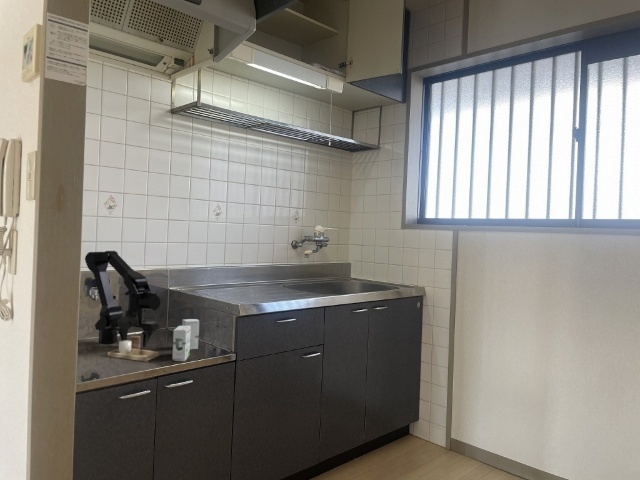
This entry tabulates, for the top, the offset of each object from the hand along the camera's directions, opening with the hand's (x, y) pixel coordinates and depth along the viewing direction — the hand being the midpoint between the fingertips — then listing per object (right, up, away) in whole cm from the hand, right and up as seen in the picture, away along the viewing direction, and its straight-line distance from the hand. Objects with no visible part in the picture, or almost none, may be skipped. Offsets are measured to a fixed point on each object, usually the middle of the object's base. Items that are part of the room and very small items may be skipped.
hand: (134, 345), depth 197 cm
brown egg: (0, -1, 0) cm, 1 cm away
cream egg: (0, -1, -10) cm, 10 cm away
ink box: (+21, -3, -9) cm, 23 cm away
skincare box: (+21, -3, +5) cm, 22 cm away
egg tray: (+4, -2, -11) cm, 12 cm away
